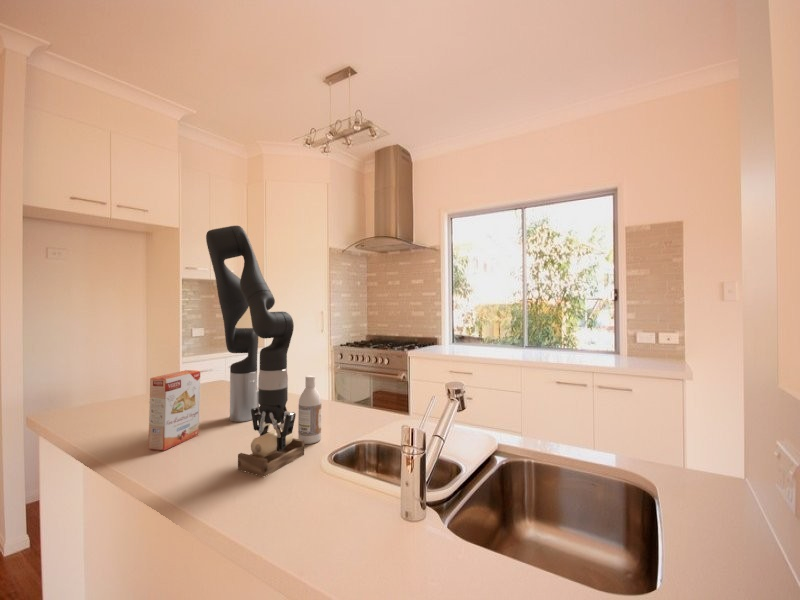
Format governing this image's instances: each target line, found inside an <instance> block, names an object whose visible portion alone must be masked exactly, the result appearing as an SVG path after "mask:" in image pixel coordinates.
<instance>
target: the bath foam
mask: <svg viewBox="0 0 800 600" xmlns="http://www.w3.org/2000/svg"><path fill="white" fill-rule="evenodd" d="M304 387H305V388H304V390H303V391H302V392H301V394H300V397H299V399H298V412H297V413H298V415H297V416H298V421H297V422H298V423H297V424H298V425H297V426H298V427H297V428H298V431H297V434H298V436H297V437H298V438H297V439H299V440H304V445H306V444H307V445H311V444H312V445H313V444H315V443H318V442H320V441H321V439H322V398H321V397H322V396H321V395H320V393H319V391H318V390H317V388H316V376H315V375H306V376H305V386H304Z"/></svg>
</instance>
